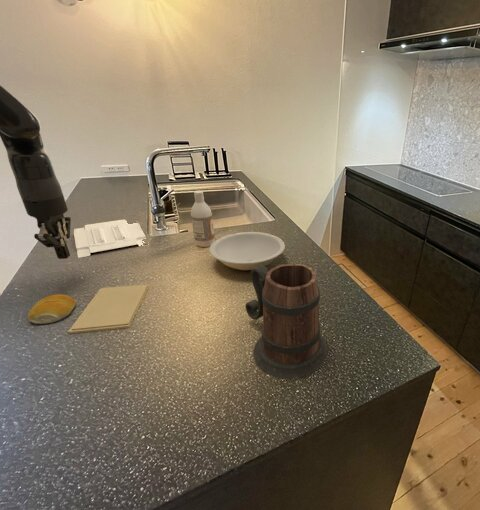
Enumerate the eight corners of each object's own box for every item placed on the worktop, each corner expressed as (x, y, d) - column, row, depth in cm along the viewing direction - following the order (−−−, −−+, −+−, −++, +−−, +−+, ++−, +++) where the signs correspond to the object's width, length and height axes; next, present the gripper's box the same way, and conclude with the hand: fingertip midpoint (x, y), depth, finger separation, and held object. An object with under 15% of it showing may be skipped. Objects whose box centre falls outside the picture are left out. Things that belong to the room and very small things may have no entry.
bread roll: (80, 300, 80) (76, 287, 78) (67, 321, 73) (62, 308, 71) (40, 305, 77) (35, 291, 75) (22, 327, 70) (16, 313, 68)
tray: (78, 258, 99) (74, 247, 97) (74, 231, 118) (70, 222, 116) (150, 244, 111) (147, 235, 109) (135, 222, 130) (133, 214, 128)
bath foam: (213, 247, 112) (207, 194, 103) (193, 247, 111) (185, 194, 102) (216, 239, 119) (210, 189, 110) (197, 239, 117) (190, 188, 108)
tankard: (342, 347, 72) (349, 274, 63) (290, 393, 60) (290, 311, 51) (275, 305, 84) (273, 240, 75) (220, 336, 72) (210, 263, 63)
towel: (68, 334, 69) (67, 330, 69) (100, 290, 85) (99, 287, 84) (128, 327, 72) (128, 324, 72) (149, 286, 88) (148, 283, 87)
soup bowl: (267, 243, 119) (266, 227, 116) (297, 270, 103) (297, 252, 100) (202, 256, 106) (200, 239, 103) (225, 289, 89) (223, 270, 86)
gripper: (37, 186, 78) (59, 247, 86) (5, 203, 67) (33, 270, 75) (73, 187, 81) (91, 246, 88) (47, 203, 69) (70, 269, 77)
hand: (64, 257), depth 82 cm, fingers closed
